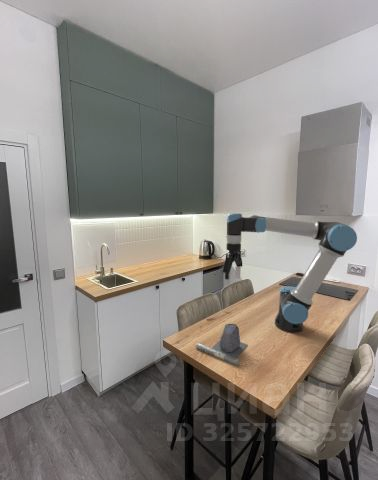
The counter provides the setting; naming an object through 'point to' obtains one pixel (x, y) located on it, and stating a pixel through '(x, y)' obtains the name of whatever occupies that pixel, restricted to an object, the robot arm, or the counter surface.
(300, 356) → the counter surface
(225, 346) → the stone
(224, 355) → the rail
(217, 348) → the mat
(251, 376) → the counter surface
